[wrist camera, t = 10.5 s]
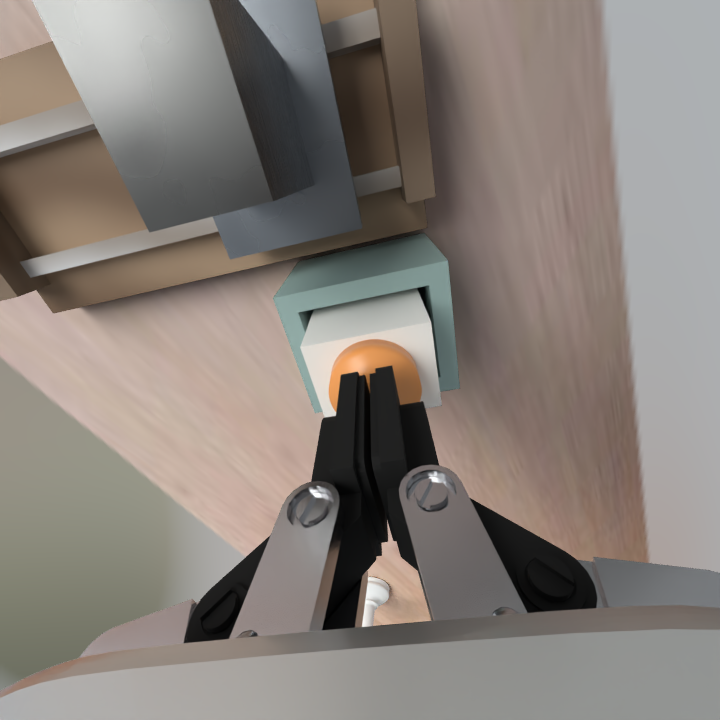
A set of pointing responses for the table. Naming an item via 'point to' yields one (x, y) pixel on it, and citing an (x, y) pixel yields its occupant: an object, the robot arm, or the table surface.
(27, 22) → the table surface
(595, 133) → the table surface
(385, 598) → the chess piece
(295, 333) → the grey-green housing
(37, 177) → the rail track
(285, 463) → the table surface
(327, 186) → the carriage
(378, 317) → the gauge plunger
